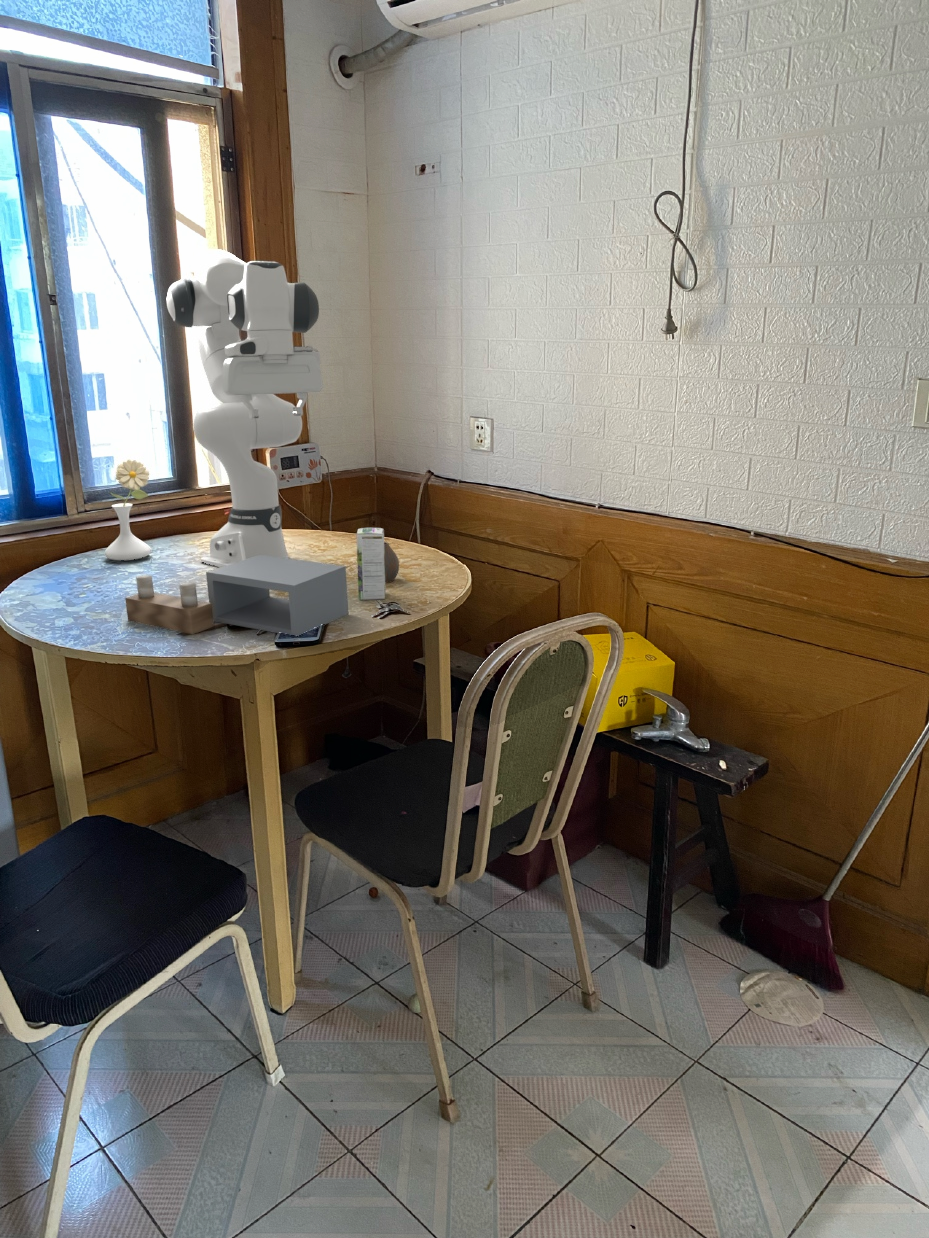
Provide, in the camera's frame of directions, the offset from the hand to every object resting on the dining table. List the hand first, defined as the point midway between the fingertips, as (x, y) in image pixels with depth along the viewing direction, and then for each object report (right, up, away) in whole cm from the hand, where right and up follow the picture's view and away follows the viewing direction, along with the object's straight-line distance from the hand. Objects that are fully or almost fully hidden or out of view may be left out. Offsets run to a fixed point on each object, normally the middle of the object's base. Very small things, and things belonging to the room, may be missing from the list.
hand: (276, 417), depth 187 cm
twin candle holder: (-20, -42, -6) cm, 47 cm away
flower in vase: (-46, -26, +47) cm, 71 cm away
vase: (+20, -33, +23) cm, 45 cm away
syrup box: (+19, -37, +11) cm, 42 cm away
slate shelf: (+1, -41, -3) cm, 41 cm away
